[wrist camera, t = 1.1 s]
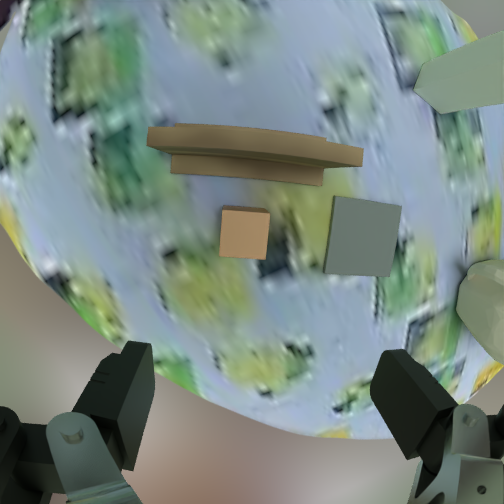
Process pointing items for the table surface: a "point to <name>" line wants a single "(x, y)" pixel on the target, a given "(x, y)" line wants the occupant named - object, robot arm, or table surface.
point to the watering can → (484, 305)
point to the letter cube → (244, 232)
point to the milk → (465, 76)
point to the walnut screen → (251, 152)
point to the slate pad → (361, 237)
